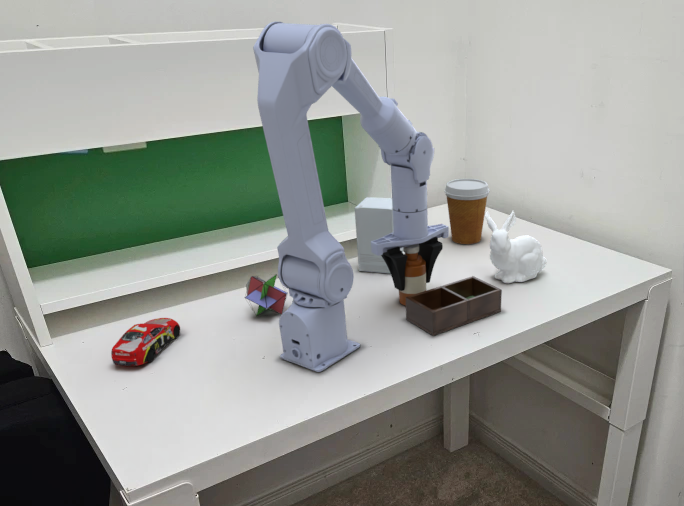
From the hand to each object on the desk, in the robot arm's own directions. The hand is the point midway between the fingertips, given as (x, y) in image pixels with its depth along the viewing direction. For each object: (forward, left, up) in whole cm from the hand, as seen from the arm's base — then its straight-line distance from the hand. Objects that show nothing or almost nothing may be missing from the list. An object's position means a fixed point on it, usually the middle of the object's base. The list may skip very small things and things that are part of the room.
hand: (412, 284), depth 114 cm
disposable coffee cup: (+32, +9, -3) cm, 33 cm away
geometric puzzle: (-17, +18, -3) cm, 25 cm away
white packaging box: (+10, +15, -3) cm, 18 cm away
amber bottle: (0, 0, -3) cm, 3 cm away
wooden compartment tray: (-1, -9, -3) cm, 10 cm away
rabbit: (+19, -9, -3) cm, 21 cm away
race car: (-36, +24, -3) cm, 43 cm away
